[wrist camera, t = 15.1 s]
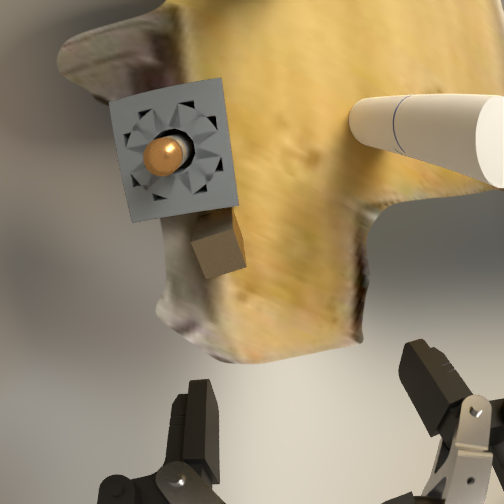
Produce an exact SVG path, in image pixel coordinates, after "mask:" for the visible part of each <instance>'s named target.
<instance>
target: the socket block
mask: <svg viewBox="0 0 504 504" xmlns="http://www.w3.org/2000/svg"><path fill="white" fill-rule="evenodd" d="M189 103H194V107H195V109H194V108H191V107H188V106H185V105H184V104H189ZM109 107H110V114H111V121H112V127H113V133H114V139H115V145H116V150H117V156H118V161H119V166H120V171H121V176H122V181H123V185H124V190H125V194H126V198H127V203H128V208H129V212H130V216H131V220H132V223H134V222H140V221H145V220H151V219H157V218H163V217H169V216H175V215H181V214H187V213H193V212H200V211H206V210H213V209H219V208H226V207H233V206H239V203H238V195H237V188H236V180H235V173H234V166H233V159H232V151H231V144H230V137H229V129H228V122H227V115H226V107H225V100H224V92H223V85H222V78H215V79H208V80H202V81H196V82H191V83H185V84H180V85H175V86H170V87H165V88H161V89H156V90H152V91H148V92H144V93H140V94H136V95H132V96H128V97H125V98H121V99H118V100H114V101H111V102H109ZM146 112H148V113H147V114H146ZM214 116H216V122H217V127H216V126H215V125H214V123H213V122H212V121H211V120H210V119H209V117H214ZM170 129H178V130H181V131H184V132H186V133H187V134H188V135H189V137H190V138H191V139H192V140H193V141H194V147H195V156H194V158H193V161H192V163H191V164H190V165H188V166H187V167H186V168H180V169H177V170H176V171H174V172H173V173H172V174H170V175H167V176H156V175H154V174H152V173H151V172H149V171H148V170H147V168H146V167H145V164H144V161H143V154H144V150H145V148H146V147H147V145H148V144H149V143H150V142H151V141H153V140H155V139H158V138H160V137H161V136H162V135H163V134H164V133H166V132H167V131H168V130H170ZM221 157H222V164H223V167H218V168H217V165H218V163H219V160H220V158H221ZM205 184H206V186H205V187H203V186H204V185H205Z"/></svg>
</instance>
